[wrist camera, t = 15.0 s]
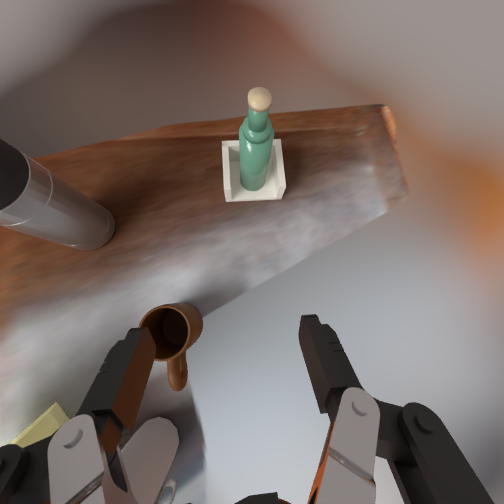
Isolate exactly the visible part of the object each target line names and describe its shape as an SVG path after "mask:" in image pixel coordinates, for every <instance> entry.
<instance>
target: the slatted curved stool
mask: <svg viewBox="0 0 504 504" xmlns="http://www.w3.org/2000/svg"><path fill="white" fill-rule="evenodd" d="M68 420H70V419H69V418H68V417H67V415H66V414H65V413H64V411H63V410H62V408H61V407H60V406H59V404H58V403H57V402H55V403H54V404H53V405H52V406H50V407H49V408H48V409H47V410H46V411H45V412H44V413H43V414H42V415H41V416H39V417H38V418H37V419H36V420H35V421H34V422H33V423H32V424H31V425H30V426H28V427H27V428H26V429H25V430H24V431H23V432H22V433H21V434H20V435H19V436H17V437H16V438H15V439H14V440H13V441H12V442H11V443H10V444H17V445H18V446H20V447H22V448H24V447H26V446H28V445H31V444H33V443H35V442H37V441H40V440H42V439H44V438H47V437H49V436H51V435H53V434H55V433H56V432H57V431H58V429H59V428H60V427H61V426H62V425H63V424H65V423H66V422H67V421H68Z"/></svg>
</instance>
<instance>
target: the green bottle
mask: <svg viewBox="0 0 504 504" xmlns="http://www.w3.org/2000/svg"><path fill="white" fill-rule="evenodd" d="M271 100H272V96H271V93H270V92H269V91H268V90H267V89H265V88H262V87H256V88H253V89H252V90H250V92H249V94H248V106H249V115H248V116H247V117H246V118H245V119H244V122H243V124H242V125H241V127H240V129H239V149H240V182H241V185H242V186H243V188H245V189H246V190H248V191H258V190H260V189H261V188H262V187H263V186H264V184H265V179H266V174H267V169H268V164H269V159H270V154H271V149H272V144H273V138H274V129H273V127H272V125H271V121H270V119H269V118H268V111H269V108H270V106H271Z"/></svg>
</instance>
